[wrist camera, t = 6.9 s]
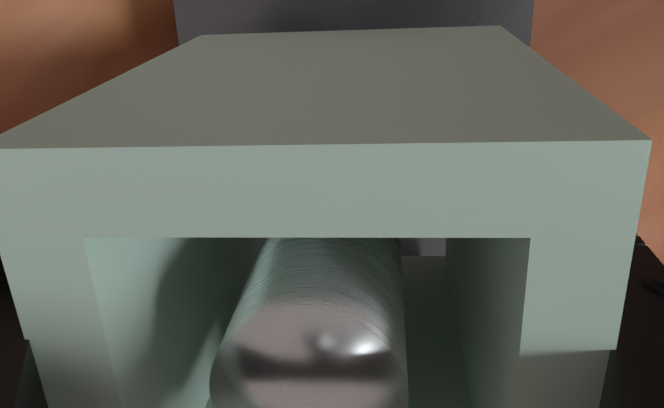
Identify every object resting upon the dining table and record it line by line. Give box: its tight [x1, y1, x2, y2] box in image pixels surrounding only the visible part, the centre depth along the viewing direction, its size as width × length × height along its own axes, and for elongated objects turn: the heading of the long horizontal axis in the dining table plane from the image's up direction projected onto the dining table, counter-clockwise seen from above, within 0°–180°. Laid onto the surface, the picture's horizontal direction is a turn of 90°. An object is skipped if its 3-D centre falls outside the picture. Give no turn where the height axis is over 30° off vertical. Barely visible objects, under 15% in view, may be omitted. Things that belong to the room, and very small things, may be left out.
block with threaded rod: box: [173, 0, 534, 408], centre depth 16 cm, size 14×12×16 cm
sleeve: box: [0, 25, 652, 408], centre depth 13 cm, size 8×8×10 cm
